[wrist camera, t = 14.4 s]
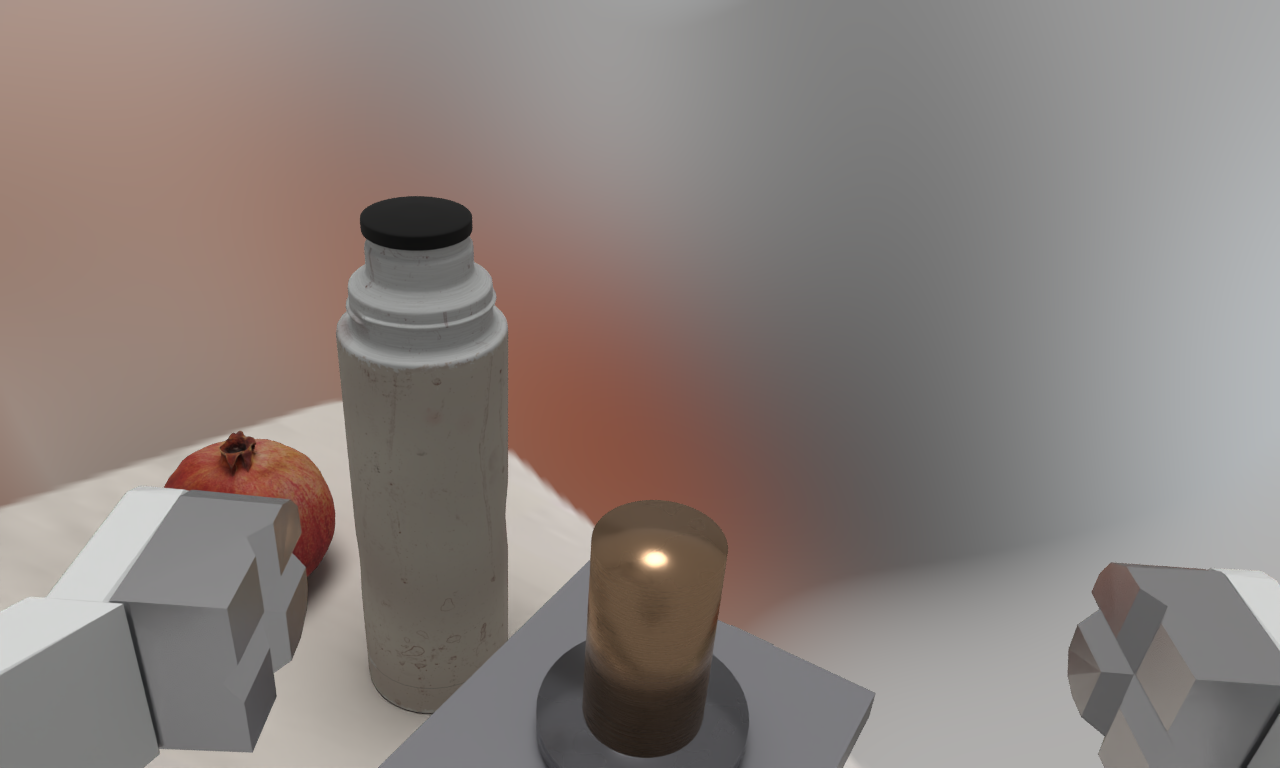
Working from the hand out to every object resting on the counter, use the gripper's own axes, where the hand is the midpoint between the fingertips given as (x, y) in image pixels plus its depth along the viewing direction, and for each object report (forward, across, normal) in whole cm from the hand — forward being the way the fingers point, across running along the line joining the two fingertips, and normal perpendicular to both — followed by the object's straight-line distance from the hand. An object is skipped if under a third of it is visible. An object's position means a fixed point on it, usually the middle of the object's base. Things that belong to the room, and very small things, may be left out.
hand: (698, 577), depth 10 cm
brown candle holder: (+15, -1, +31) cm, 34 cm away
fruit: (+40, +23, +38) cm, 60 cm away
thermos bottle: (+34, +10, +38) cm, 52 cm away
